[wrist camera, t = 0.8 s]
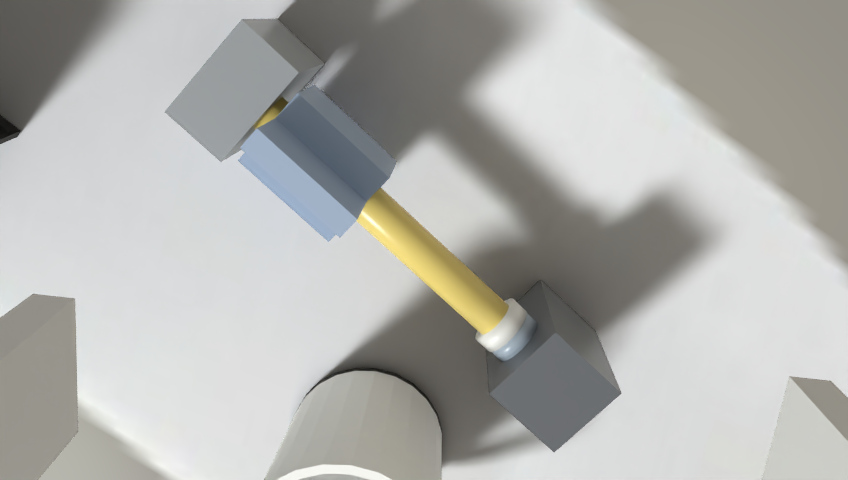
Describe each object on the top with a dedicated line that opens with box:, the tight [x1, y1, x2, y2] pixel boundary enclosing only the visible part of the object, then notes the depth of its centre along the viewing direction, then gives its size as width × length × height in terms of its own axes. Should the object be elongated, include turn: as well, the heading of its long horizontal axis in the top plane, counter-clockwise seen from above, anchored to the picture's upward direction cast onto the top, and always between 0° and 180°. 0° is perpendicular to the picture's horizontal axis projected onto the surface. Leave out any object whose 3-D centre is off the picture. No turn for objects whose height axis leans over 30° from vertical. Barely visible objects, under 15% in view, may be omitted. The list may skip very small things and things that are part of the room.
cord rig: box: [165, 19, 621, 452], centre depth 36 cm, size 22×5×7 cm, turn 47°
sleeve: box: [238, 85, 397, 242], centre depth 33 cm, size 5×4×7 cm
